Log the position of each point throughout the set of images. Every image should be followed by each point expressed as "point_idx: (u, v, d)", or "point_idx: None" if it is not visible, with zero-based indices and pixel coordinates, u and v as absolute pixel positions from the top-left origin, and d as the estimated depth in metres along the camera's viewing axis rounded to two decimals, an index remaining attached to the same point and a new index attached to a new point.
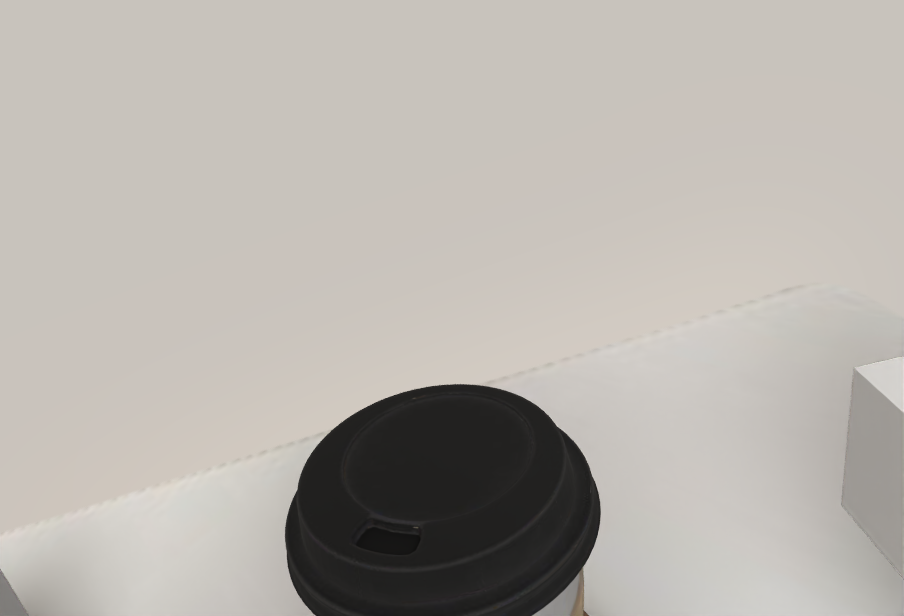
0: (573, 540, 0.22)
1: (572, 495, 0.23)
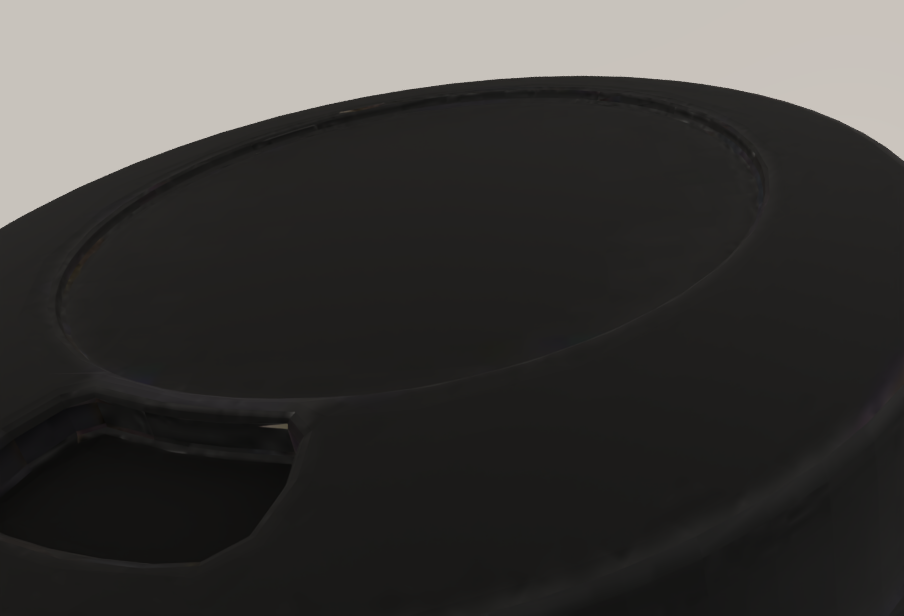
0: None
1: None
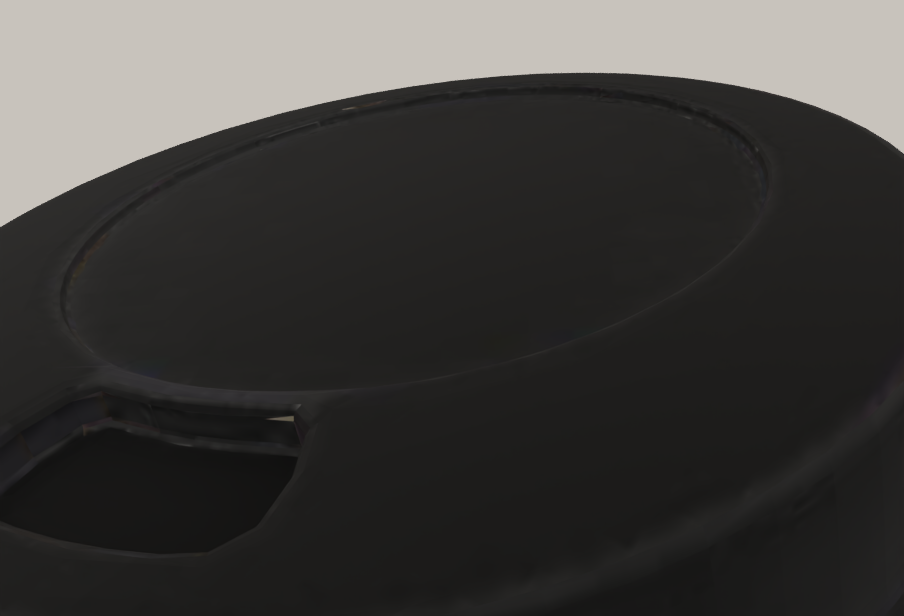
0: None
1: None
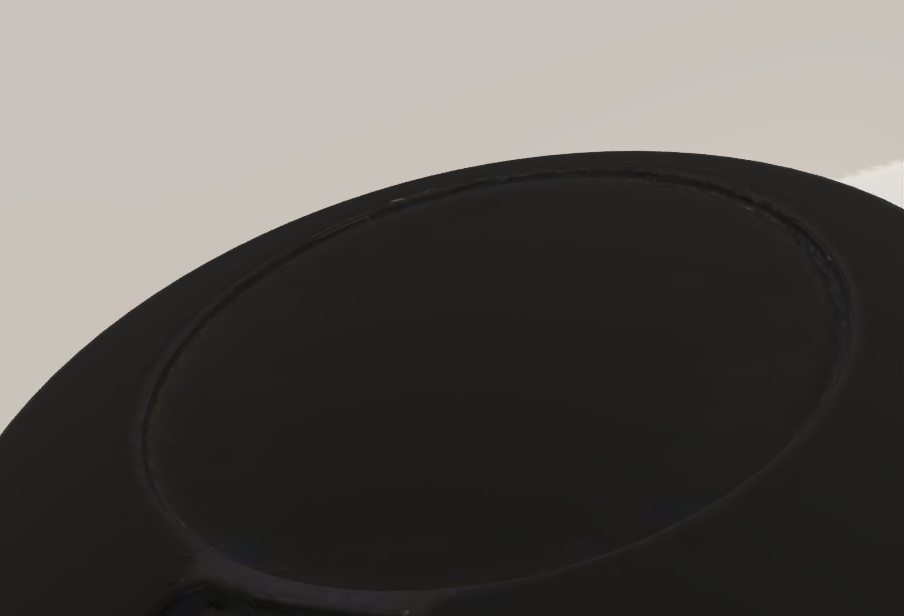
0: None
1: None
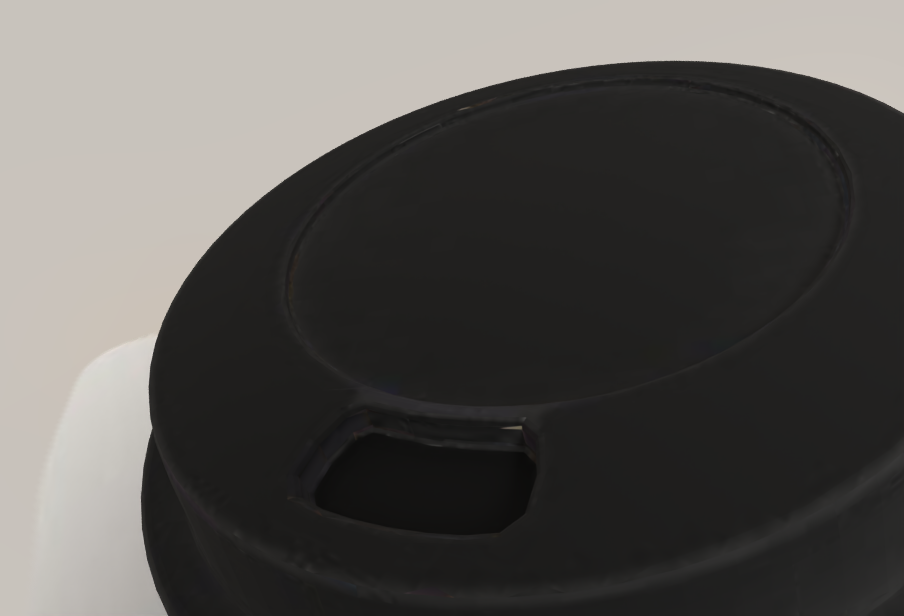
0: None
1: None
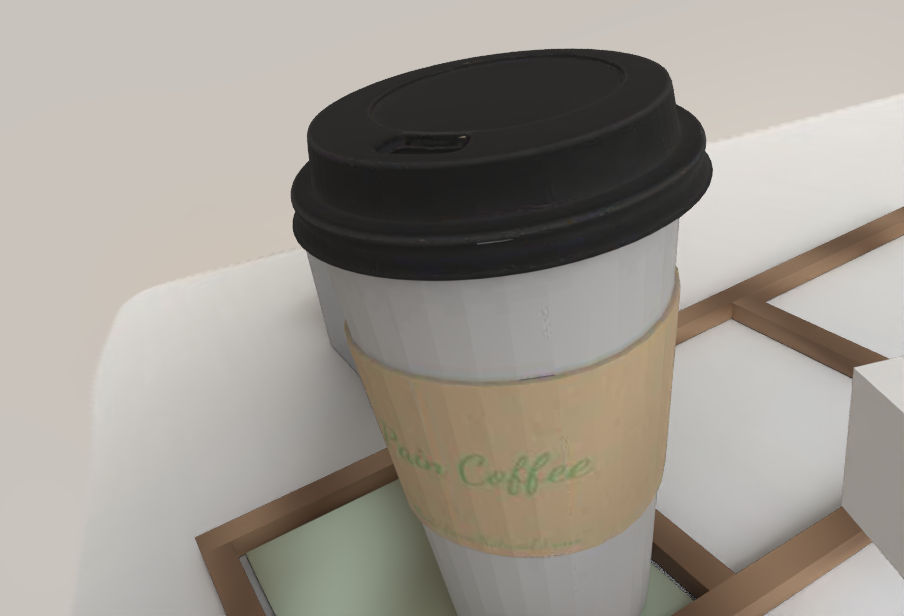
0: (681, 166, 0.16)
1: (677, 130, 0.17)
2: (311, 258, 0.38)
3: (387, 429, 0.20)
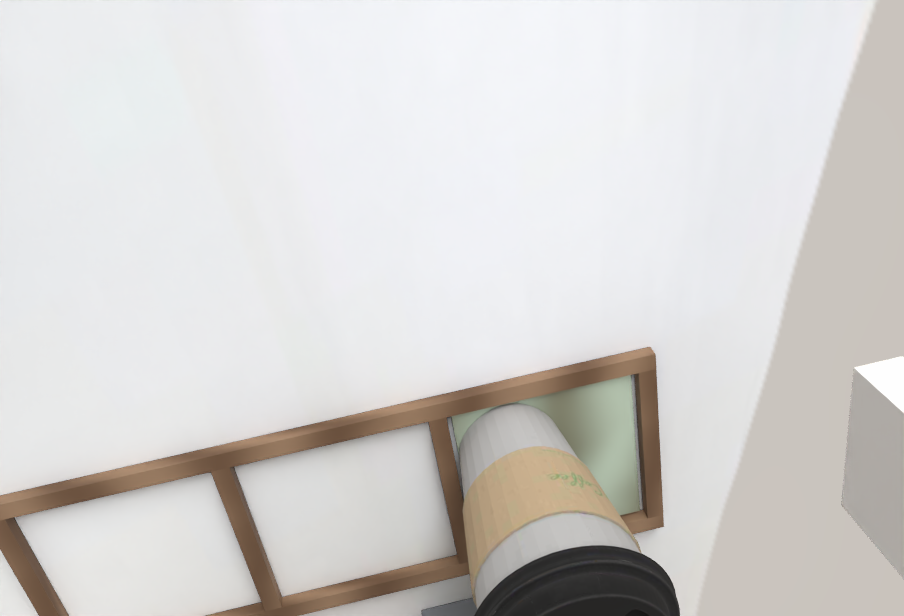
0: (529, 584, 0.34)
1: (511, 613, 0.34)
2: None
3: None
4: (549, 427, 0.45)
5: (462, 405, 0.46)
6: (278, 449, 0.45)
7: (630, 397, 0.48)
